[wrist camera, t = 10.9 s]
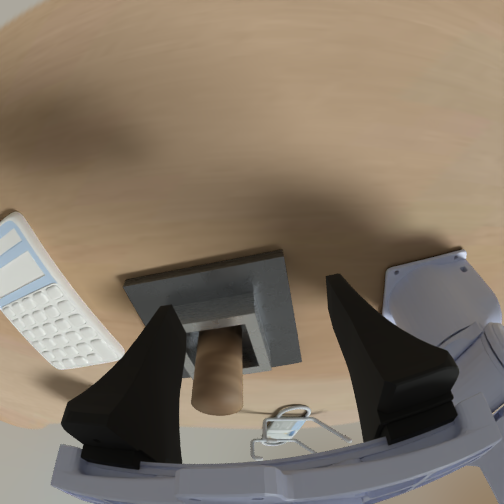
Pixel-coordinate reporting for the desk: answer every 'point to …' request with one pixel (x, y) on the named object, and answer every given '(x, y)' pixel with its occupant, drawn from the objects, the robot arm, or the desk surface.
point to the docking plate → (228, 306)
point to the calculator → (48, 303)
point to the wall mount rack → (288, 430)
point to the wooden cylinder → (218, 372)
